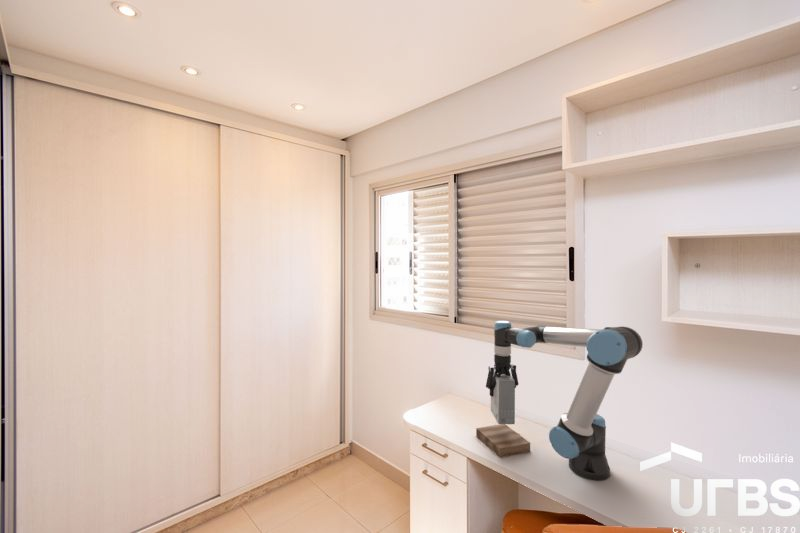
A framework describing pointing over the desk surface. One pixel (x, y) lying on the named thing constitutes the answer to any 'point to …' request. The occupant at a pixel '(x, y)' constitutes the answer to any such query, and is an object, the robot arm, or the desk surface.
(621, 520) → the desk surface
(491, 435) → the walnut riser
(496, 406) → the hard drive box
